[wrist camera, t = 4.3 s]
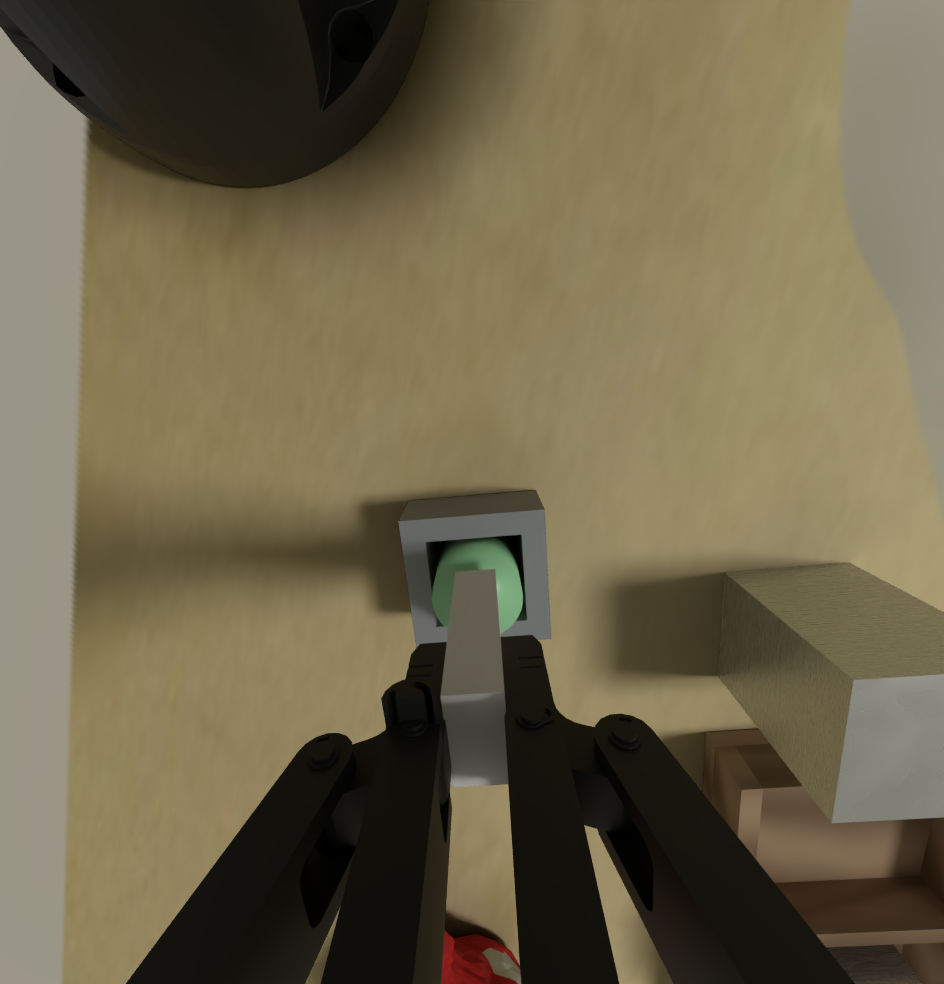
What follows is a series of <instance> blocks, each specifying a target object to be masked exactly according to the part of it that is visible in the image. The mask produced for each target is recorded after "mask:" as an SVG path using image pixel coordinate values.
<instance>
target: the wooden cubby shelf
mask: <svg viewBox="0 0 944 984" xmlns="http://www.w3.org/2000/svg"><path fill="white" fill-rule="evenodd" d="M703 794H704V795H705V796H706V798H707V799H708V800H709V801H710V803H711V804H712V805H713V806H714V808H715V809H716V810H717V811H718V813H719V814H720V815H721V816H722V818H723V819H724V820H725V821H726V823H727V824H728V825H729V826H730V828H731V829H732V830H733V831H734V833H735V834H736V835H737V836H738V838H739V839H740V840H741V841H742V843H743V844H744V845H745V846H746V848H747V849H748V850H749V851H750V853H751V854H752V855H753V856H754V858H755V859H756V860H757V861H758V863H759V864H760V865H761V866H762V868H763V869H764V870H765V871H766V873H767V874H768V875H769V876H770V878H771V879H772V880H773V881H774V883H775V884H776V885H777V886H778V888H779V889H780V890H781V891H782V893H783V894H784V895H785V896H786V898H787V899H788V900H789V901H790V903H791V904H792V905H793V907H794V908H795V909H796V910H797V912H798V913H799V914H800V915H801V917H802V918H803V919H804V920H805V922H806V923H807V924H808V925H809V927H810V928H811V929H812V930H813V932H814V933H815V934H816V935H817V937H818V938H819V939H820V940H821V942H822V943H823V944H824V945H825V947H845V946H869V945H892V944H894V946H895V947H896V949H897V950H898V951H899V953H900V954H901V956H902V957H903V958H904V960H905V961H906V963H907V964H908V965H909V967H910V968H911V970H912V971H913V972H914V974H915V975H916V977H917V978H918V979H919V981H920V982H921V983H922V984H944V817H941V818H922V819H903V820H884V821H866V822H847V823H831V822H830V821H829V819H828V818H827V817H826V815H825V814H824V813H823V811H822V810H821V809H820V808H819V806H818V805H817V804H816V802H815V801H814V800H813V799H812V797H811V796H810V795H809V793H808V792H807V791H806V790H805V788H804V787H803V786H802V784H801V783H800V782H799V780H798V779H797V778H796V777H795V775H794V774H793V773H792V771H791V770H790V769H789V768H788V766H787V765H786V764H785V762H784V761H783V760H782V758H781V757H780V756H779V755H778V753H777V752H776V751H775V749H774V748H773V747H772V746H771V744H770V743H769V742H768V740H767V739H766V738H765V736H764V735H763V734H762V733H761V731H760V730H759V729H750V730H733V731H717V732H706V739H705V757H704V775H703Z"/></svg>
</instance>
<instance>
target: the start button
mask: <svg viewBox="0 0 944 984" xmlns="http://www.w3.org/2000/svg"><path fill="white" fill-rule="evenodd" d="M486 569H495V571H496V583H497V595H498V607H499V618H500V630H501V633H503V632H504V631H506V630H507V629H508V628H509V627H511V626H512V625H513V623H514V622H515V621H516V619H517V618H518V616H519V614H520V612H521V609H522V604H523V593H522V587H521V582H520V576H519V571H518V566H517V561H516V555H515V552H514V549H513V547H512V545H511V543H510V542H509V541H508V539H507V538H506V537H505V536H496V537H484V538H471V539H459V540H447V541H446V542H445V544H444V546H443V547H442V550H441V553H440V557H439V562H438V567H437V572H436V576H435V581H434V586H433V591H432V605H433V609H434V612H435V614H436V616H437V618H438V619H439V621H440V622H441V623H442V624H443V625H444V627H446V628H447V629H449V620H450V612H451V604H452V595H453V587H454V579H455V572H460V571H473V570H486Z"/></svg>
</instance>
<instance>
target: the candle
mask: <svg viewBox="0 0 944 984" xmlns="http://www.w3.org/2000/svg"><path fill="white" fill-rule="evenodd" d="M441 984H521V973H520V965H519V964H518V962H517V960H516V959H515V957H514V955H513V953H512V952H511V951H510V950H509V949H508V948H506V947H505V946H504V945H502V944H500V943H498V942H497V941H494V940H492V939H488V938H485V937H482V936H481V935H477V934H472V935H469V936H464V937H459V938H454V939H453V938H452V937H451V936H450V935H449V934H448V933H447V932H446V931H445V930H444V946H443V963H442V979H441Z"/></svg>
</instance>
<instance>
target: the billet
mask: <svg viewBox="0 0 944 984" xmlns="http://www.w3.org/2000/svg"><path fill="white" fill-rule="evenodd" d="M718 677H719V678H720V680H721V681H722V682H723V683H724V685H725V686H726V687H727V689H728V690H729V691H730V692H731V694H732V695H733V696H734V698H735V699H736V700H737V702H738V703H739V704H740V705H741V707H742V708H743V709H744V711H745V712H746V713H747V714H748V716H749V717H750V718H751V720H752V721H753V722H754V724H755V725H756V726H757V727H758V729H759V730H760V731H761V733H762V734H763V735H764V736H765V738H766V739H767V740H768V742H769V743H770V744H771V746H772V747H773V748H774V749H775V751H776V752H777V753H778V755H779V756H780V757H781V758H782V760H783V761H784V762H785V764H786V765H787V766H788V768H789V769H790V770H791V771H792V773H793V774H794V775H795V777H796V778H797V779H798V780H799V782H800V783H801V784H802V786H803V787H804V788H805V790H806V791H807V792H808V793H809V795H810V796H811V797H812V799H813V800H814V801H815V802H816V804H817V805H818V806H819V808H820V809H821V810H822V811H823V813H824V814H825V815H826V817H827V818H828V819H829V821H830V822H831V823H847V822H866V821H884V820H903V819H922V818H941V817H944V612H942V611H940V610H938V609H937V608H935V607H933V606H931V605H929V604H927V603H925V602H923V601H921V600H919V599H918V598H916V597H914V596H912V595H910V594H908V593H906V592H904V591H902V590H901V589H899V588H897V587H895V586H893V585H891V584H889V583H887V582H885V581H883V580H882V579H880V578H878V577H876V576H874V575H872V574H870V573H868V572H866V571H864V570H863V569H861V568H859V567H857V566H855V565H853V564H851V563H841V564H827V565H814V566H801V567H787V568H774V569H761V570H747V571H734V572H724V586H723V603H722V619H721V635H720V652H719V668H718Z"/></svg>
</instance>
